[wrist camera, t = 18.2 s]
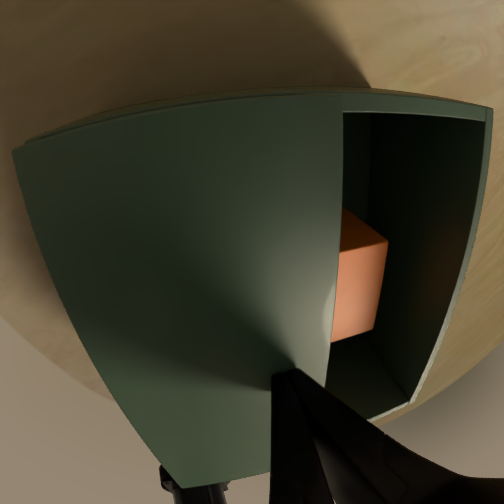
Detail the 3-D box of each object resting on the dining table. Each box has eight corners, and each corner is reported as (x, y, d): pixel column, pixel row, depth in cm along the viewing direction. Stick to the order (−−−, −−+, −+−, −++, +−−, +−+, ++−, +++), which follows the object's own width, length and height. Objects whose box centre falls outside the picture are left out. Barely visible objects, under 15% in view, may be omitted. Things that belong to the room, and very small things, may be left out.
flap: (309, 453, 13) (311, 460, 13) (180, 481, 12) (181, 488, 12) (334, 94, 6) (343, 95, 6) (18, 146, 5) (10, 150, 4)
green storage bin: (355, 322, 21) (414, 402, 15) (164, 368, 19) (177, 475, 12) (372, 88, 14) (494, 108, 7) (94, 114, 11) (23, 141, 5)
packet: (338, 286, 18) (373, 329, 15) (220, 314, 17) (236, 368, 14) (344, 206, 16) (389, 240, 13) (206, 229, 15) (221, 276, 11)
